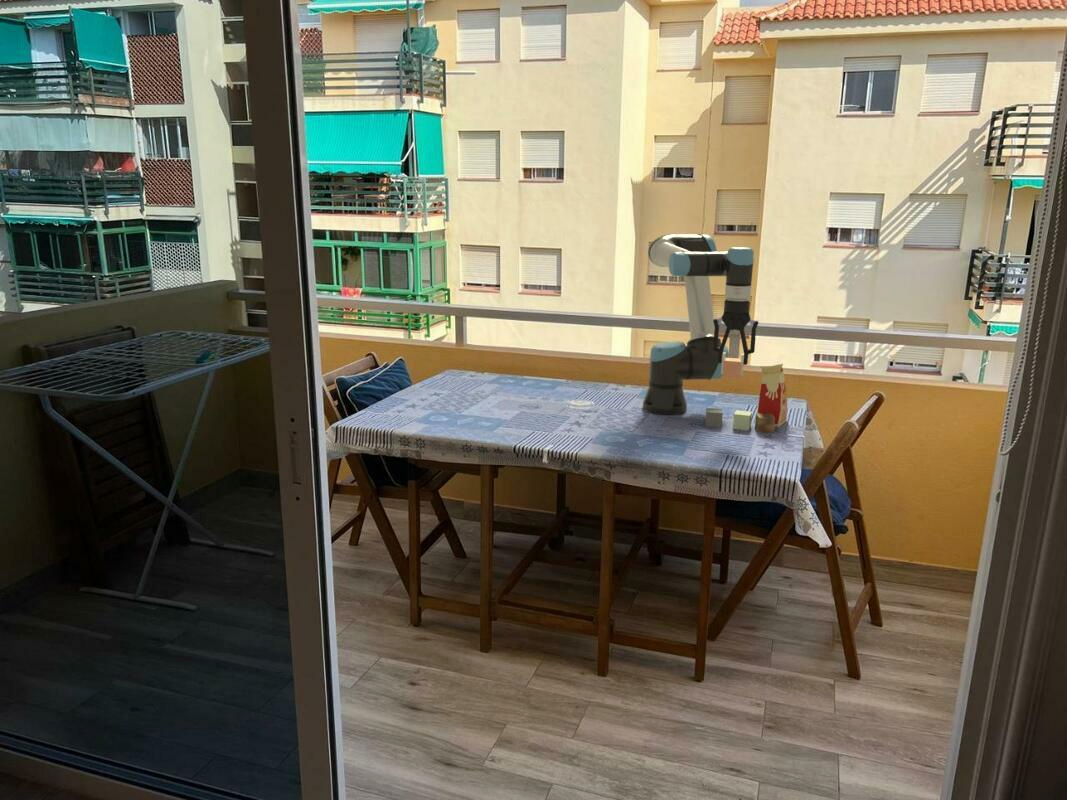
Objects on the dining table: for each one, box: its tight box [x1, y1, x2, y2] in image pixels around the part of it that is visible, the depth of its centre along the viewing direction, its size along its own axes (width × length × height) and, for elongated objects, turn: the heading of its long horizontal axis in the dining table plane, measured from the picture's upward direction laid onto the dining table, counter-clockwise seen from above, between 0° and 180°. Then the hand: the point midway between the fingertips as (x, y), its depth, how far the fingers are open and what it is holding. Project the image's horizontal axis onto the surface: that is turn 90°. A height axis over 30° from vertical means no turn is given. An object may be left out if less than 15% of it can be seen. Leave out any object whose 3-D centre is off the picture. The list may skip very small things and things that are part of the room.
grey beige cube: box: [704, 407, 724, 429], centre depth 252 cm, size 5×5×5 cm
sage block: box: [732, 409, 753, 431], centre depth 250 cm, size 5×5×5 cm
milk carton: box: [755, 363, 788, 428], centre depth 254 cm, size 9×9×20 cm
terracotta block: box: [722, 357, 741, 379], centre depth 241 cm, size 5×5×5 cm
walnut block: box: [754, 412, 776, 434], centre depth 247 cm, size 5×5×5 cm
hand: (731, 373), depth 241 cm, fingers closed on terracotta block, 5 cm apart
